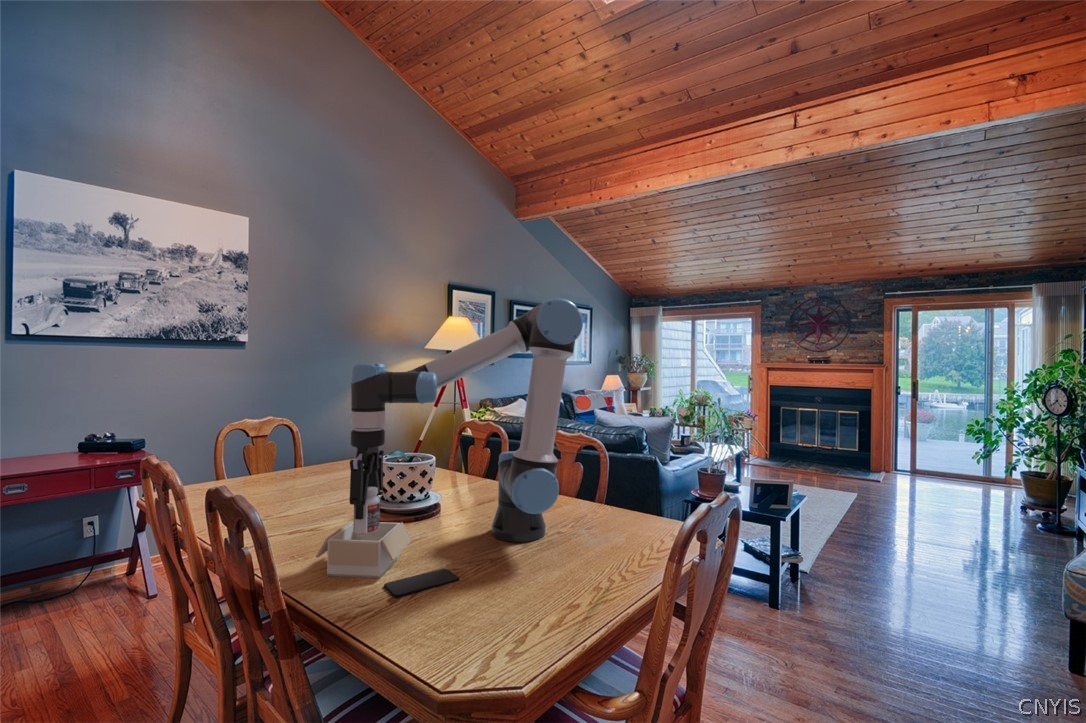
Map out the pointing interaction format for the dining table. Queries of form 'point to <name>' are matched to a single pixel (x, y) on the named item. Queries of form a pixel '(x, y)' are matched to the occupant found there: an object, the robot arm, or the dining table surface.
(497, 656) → the dining table surface
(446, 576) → the smartphone
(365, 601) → the dining table surface
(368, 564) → the carton
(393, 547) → the flap
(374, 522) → the pill bottle
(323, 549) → the flap
